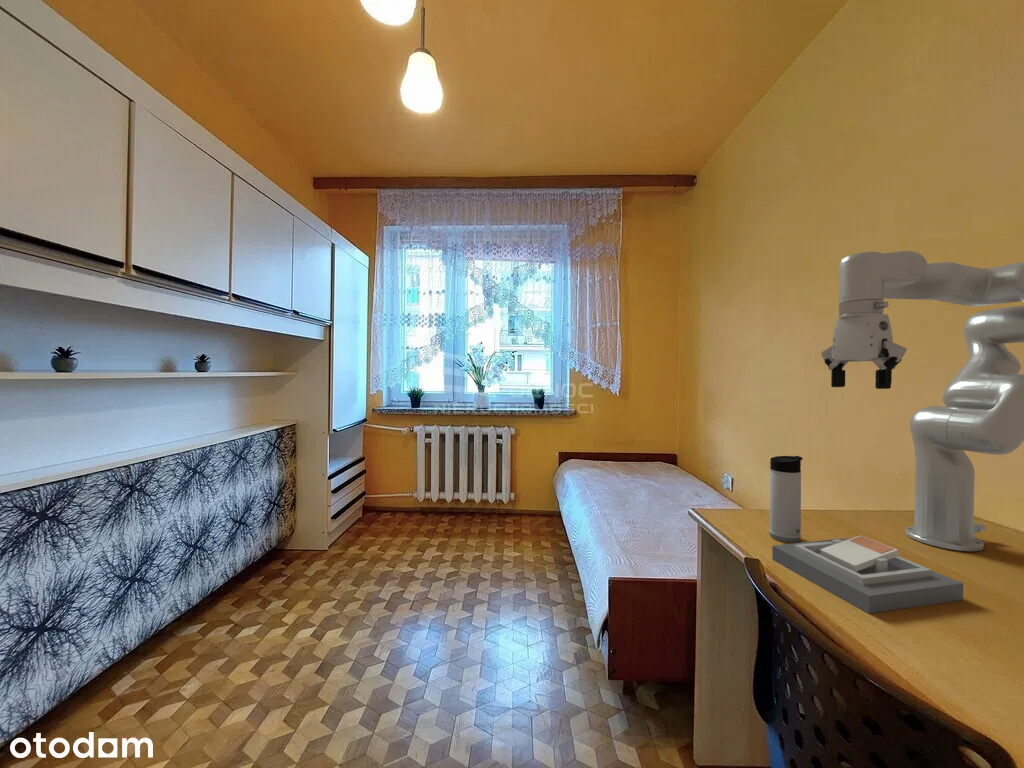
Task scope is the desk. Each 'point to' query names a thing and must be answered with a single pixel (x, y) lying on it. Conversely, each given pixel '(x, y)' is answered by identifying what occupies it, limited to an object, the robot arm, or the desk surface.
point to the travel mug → (785, 498)
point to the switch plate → (870, 578)
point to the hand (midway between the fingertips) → (859, 387)
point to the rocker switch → (858, 552)
